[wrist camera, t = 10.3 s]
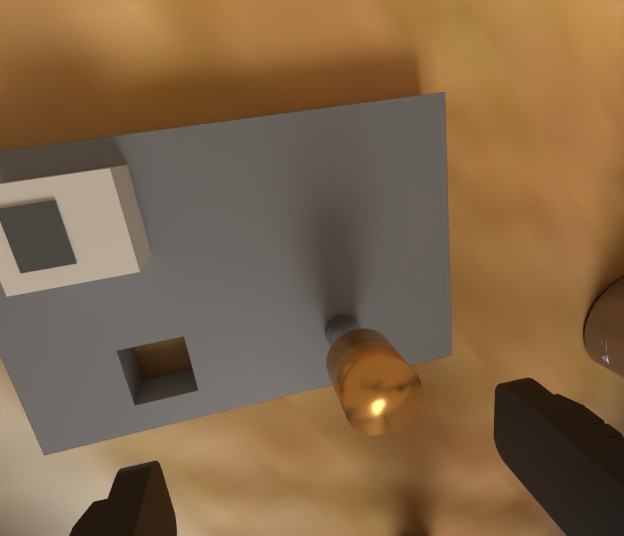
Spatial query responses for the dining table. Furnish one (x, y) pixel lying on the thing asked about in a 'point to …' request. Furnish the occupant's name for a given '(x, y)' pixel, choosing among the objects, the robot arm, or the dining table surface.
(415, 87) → the dining table surface
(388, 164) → the board
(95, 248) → the white boxy piece
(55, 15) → the dining table surface
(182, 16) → the dining table surface
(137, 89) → the dining table surface
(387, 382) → the orange rounded piece
